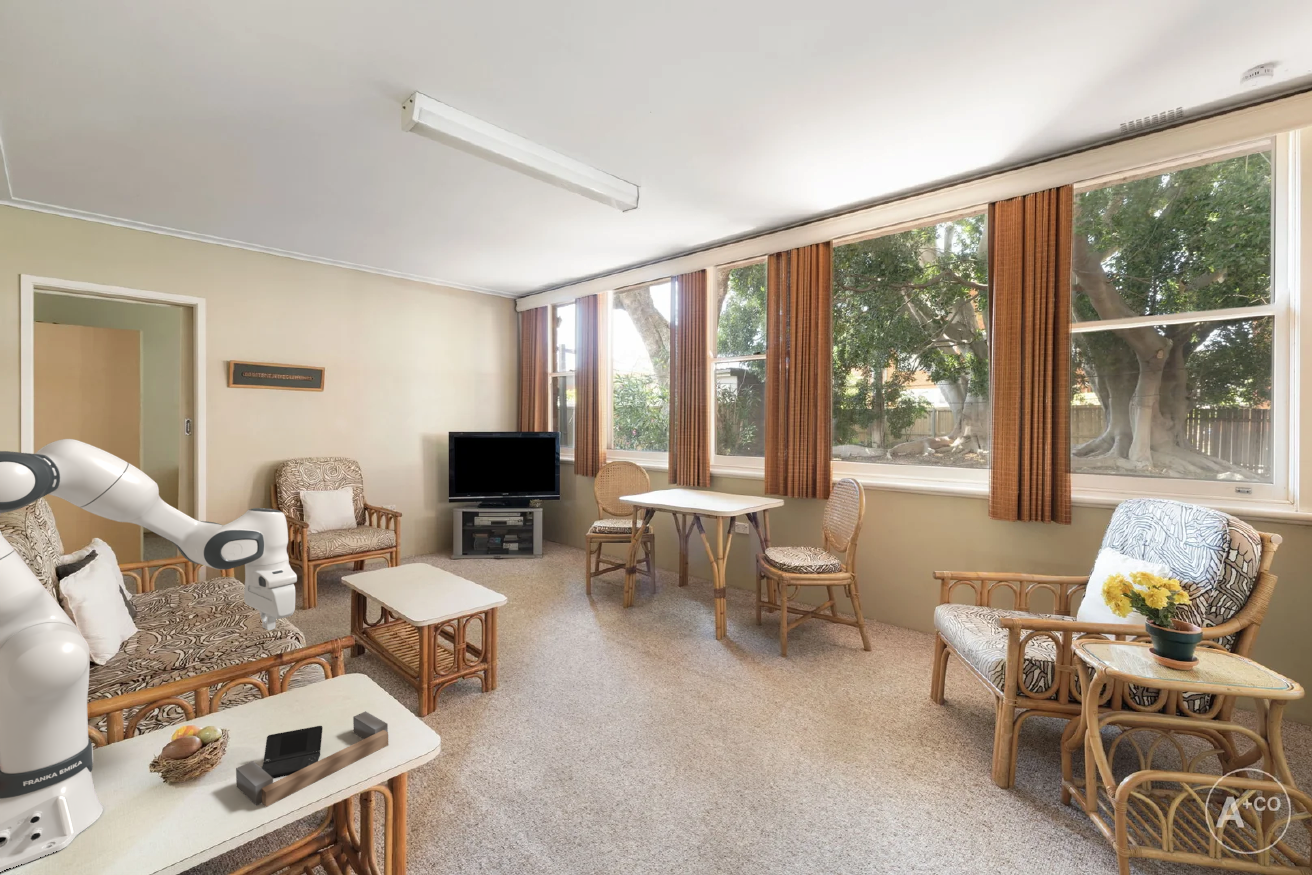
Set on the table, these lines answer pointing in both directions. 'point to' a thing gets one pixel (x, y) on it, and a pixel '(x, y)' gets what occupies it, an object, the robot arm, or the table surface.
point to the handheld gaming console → (292, 751)
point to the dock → (265, 791)
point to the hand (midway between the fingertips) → (269, 628)
